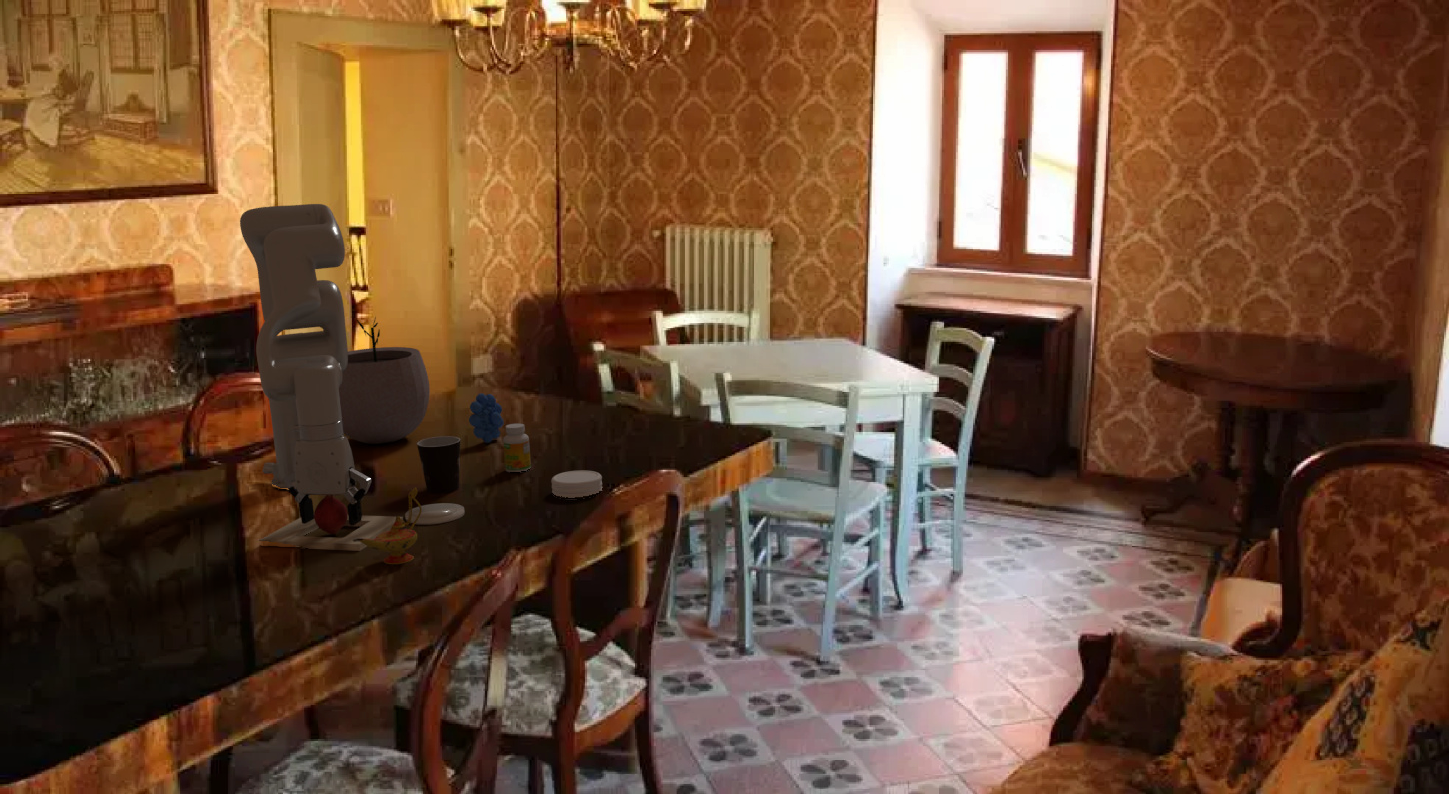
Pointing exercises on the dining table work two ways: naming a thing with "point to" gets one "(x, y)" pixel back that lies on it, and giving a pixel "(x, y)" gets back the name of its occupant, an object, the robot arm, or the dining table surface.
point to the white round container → (576, 483)
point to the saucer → (436, 513)
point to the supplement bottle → (516, 449)
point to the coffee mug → (440, 463)
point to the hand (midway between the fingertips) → (331, 522)
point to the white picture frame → (367, 530)
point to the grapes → (486, 417)
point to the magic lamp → (396, 538)
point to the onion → (330, 514)
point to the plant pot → (383, 393)
